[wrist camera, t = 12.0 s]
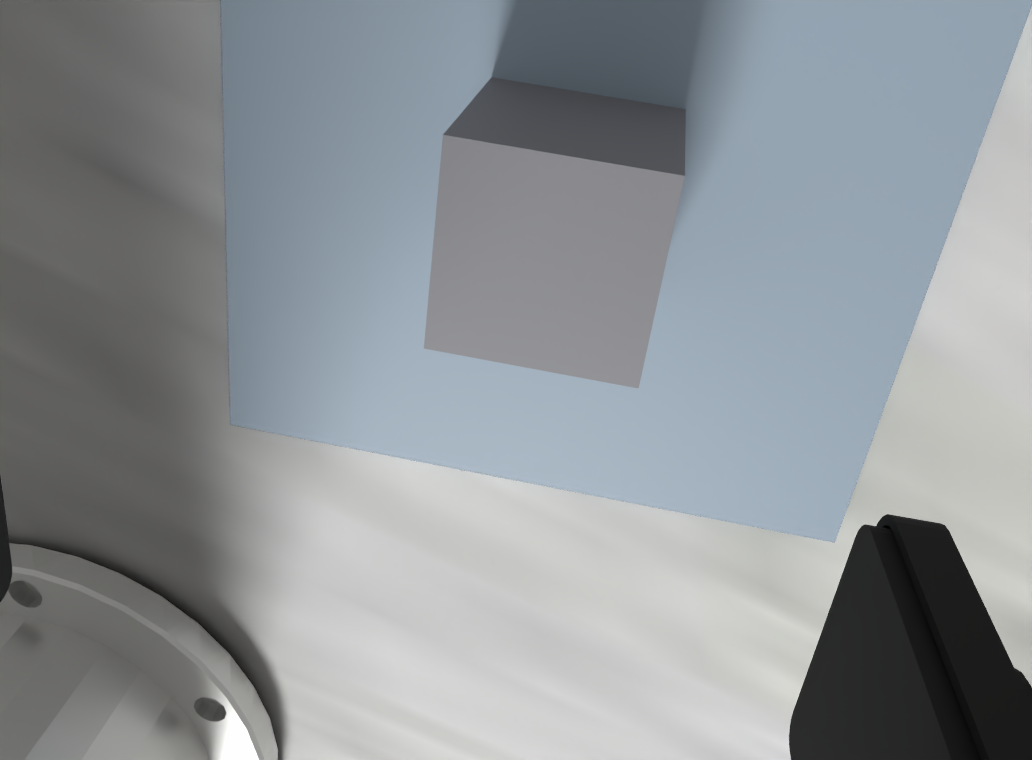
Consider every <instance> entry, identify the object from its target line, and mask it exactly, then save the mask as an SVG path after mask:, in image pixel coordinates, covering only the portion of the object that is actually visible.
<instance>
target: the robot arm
mask: <svg viewBox="0 0 1032 760" xmlns="http://www.w3.org/2000/svg"><path fill="white" fill-rule="evenodd" d="M789 746H790V755H791V760H1032V687H1031V685H1030V684H1029V682H1028V681H1027V679H1026V678H1025V676H1024V675H1023V674H1022V672H1020V671H1018V670H1017V669H1015V668H1014V667H1013V665H1012V663H1011V660H1010V658H1009V656H1008V654H1007V652H1006V650H1005V648H1004V646H1003V644H1002V642H1001V639H1000V637H999V635H998V633H997V631H996V629H995V627H994V625H993V623H992V620H991V618H990V616H989V614H988V612H987V610H986V608H985V606H984V604H983V602H982V599H981V597H980V595H979V593H978V591H977V589H976V587H975V585H974V583H973V580H972V578H971V576H970V574H969V572H968V570H967V568H966V566H965V564H964V562H963V559H962V557H961V555H960V553H959V551H958V549H957V547H956V545H955V543H954V541H953V538H952V536H951V534H950V532H949V530H948V529H947V528H946V526H945V525H943V524H940V523H934V522H929V521H923V520H917V519H911V518H906V517H900V516H894V515H889V514H887V515H885V516H883V517H882V518H881V520H880V521H879V522H878V524H877V526H870V525H863V526H862V527H861V528H860V529H859V531H858V533H857V535H856V537H855V540H854V543H853V546H852V549H851V551H850V554H849V557H848V560H847V563H846V565H845V568H844V571H843V574H842V577H841V579H840V582H839V585H838V588H837V591H836V593H835V596H834V599H833V602H832V605H831V608H830V610H829V613H828V616H827V619H826V622H825V624H824V627H823V630H822V633H821V636H820V638H819V641H818V644H817V647H816V650H815V652H814V655H813V658H812V661H811V664H810V666H809V669H808V672H807V675H806V678H805V680H804V683H803V686H802V689H801V692H800V694H799V697H798V700H797V703H796V706H795V708H794V711H793V715H792V719H791V724H790V733H789ZM0 760H278V748H277V744H276V740H275V736H274V732H273V729H272V725H271V721H270V718H269V716H268V714H267V712H266V710H265V708H264V706H263V704H262V702H261V700H260V698H259V696H258V694H257V692H256V690H255V688H254V686H253V685H252V684H251V682H250V681H249V679H248V678H247V677H246V675H245V674H244V673H243V671H242V670H241V669H240V667H239V666H238V665H237V663H236V662H235V661H234V659H233V658H232V657H231V655H230V654H229V653H228V652H227V651H226V650H225V649H224V648H223V647H222V646H221V645H220V644H219V643H218V642H217V641H216V640H215V639H214V638H213V637H212V636H211V635H210V634H209V633H208V632H207V631H206V630H205V629H204V628H203V627H202V626H200V625H199V624H198V623H197V622H196V621H194V620H193V619H192V618H190V617H189V616H188V615H186V614H185V613H184V612H182V611H181V610H180V609H178V608H177V607H175V606H174V605H173V604H171V603H170V602H169V601H167V600H166V599H165V598H163V597H162V596H160V595H158V594H157V593H155V592H153V591H151V590H149V589H148V588H146V587H144V586H142V585H140V584H139V583H137V582H135V581H133V580H131V579H130V578H128V577H126V576H124V575H122V574H120V573H118V572H115V571H113V570H110V569H108V568H105V567H103V566H100V565H98V564H95V563H93V562H90V561H88V560H85V559H82V558H80V557H77V556H73V555H69V554H65V553H61V552H57V551H53V550H49V549H45V548H41V547H37V546H32V545H23V544H12V543H9V538H8V530H7V523H6V515H5V508H4V500H3V492H2V485H1V477H0Z"/></svg>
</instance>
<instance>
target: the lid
mask: <svg viewBox="0 0 1032 760" xmlns="http://www.w3.org/2000/svg"><path fill="white" fill-rule="evenodd" d="M1031 6H1032V0H220V7H221V50H222V93H223V136H224V179H225V222H226V266H227V309H228V352H229V395H230V425H234V426H239V427H244V428H249V429H254V430H259V431H264V432H270V433H275V434H280V435H285V436H290V437H295V438H300V439H306V440H311V441H316V442H321V443H326V444H331V445H336V446H341V447H347V448H352V449H357V450H362V451H367V452H372V453H377V454H382V455H388V456H393V457H398V458H403V459H408V460H413V461H418V462H423V463H429V464H434V465H439V466H444V467H449V468H454V469H459V470H464V471H470V472H475V473H480V474H485V475H490V476H495V477H500V478H505V479H511V480H516V481H521V482H526V483H531V484H536V485H541V486H547V487H552V488H557V489H562V490H567V491H572V492H577V493H582V494H588V495H593V496H598V497H603V498H608V499H613V500H618V501H623V502H629V503H634V504H639V505H644V506H649V507H654V508H659V509H664V510H670V511H675V512H680V513H685V514H690V515H695V516H700V517H705V518H711V519H716V520H721V521H726V522H731V523H736V524H741V525H746V526H752V527H757V528H762V529H767V530H772V531H777V532H782V533H787V534H793V535H798V536H803V537H808V538H813V539H818V540H823V541H829V542H834V543H835V540H836V538H837V535H838V532H839V529H840V527H841V524H842V521H843V518H844V516H845V513H846V510H847V508H848V505H849V502H850V499H851V497H852V494H853V491H854V489H855V486H856V483H857V480H858V478H859V475H860V472H861V469H862V467H863V464H864V461H865V459H866V456H867V453H868V450H869V448H870V445H871V442H872V439H873V437H874V434H875V431H876V429H877V426H878V423H879V420H880V418H881V415H882V412H883V410H884V407H885V404H886V401H887V399H888V396H889V393H890V390H891V388H892V385H893V382H894V380H895V377H896V374H897V371H898V369H899V366H900V363H901V360H902V358H903V355H904V352H905V350H906V347H907V344H908V341H909V339H910V336H911V333H912V331H913V328H914V325H915V322H916V320H917V317H918V314H919V311H920V309H921V306H922V303H923V301H924V298H925V295H926V292H927V290H928V287H929V284H930V281H931V279H932V276H933V273H934V271H935V268H936V265H937V262H938V260H939V257H940V254H941V252H942V249H943V246H944V243H945V241H946V238H947V235H948V232H949V230H950V227H951V224H952V222H953V219H954V216H955V213H956V211H957V208H958V205H959V202H960V200H961V197H962V194H963V192H964V189H965V186H966V183H967V181H968V178H969V175H970V173H971V170H972V167H973V164H974V162H975V159H976V156H977V153H978V151H979V148H980V145H981V143H982V140H983V137H984V134H985V132H986V129H987V126H988V123H989V121H990V118H991V115H992V113H993V110H994V107H995V104H996V102H997V99H998V96H999V94H1000V91H1001V88H1002V85H1003V83H1004V80H1005V77H1006V74H1007V72H1008V69H1009V66H1010V64H1011V61H1012V58H1013V55H1014V53H1015V50H1016V47H1017V44H1018V42H1019V39H1020V36H1021V34H1022V31H1023V28H1024V25H1025V23H1026V20H1027V17H1028V15H1029V12H1030V9H1031Z"/></svg>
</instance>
